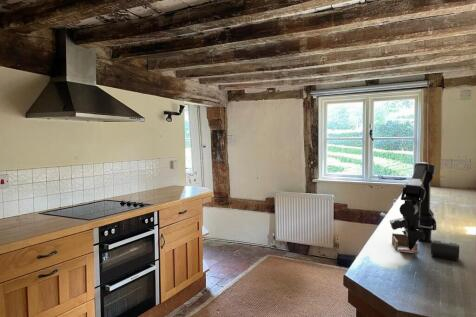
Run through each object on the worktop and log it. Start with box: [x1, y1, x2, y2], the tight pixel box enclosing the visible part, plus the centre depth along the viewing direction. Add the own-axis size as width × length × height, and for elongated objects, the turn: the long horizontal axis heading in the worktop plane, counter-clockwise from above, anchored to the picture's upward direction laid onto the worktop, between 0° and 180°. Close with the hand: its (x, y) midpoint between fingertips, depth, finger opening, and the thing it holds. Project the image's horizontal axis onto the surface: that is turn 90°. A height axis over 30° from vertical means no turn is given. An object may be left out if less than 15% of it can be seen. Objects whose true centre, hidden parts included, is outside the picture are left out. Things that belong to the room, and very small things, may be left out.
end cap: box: [430, 240, 460, 261], centre depth 141 cm, size 10×7×7 cm
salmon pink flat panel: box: [398, 248, 420, 254], centre depth 144 cm, size 1×7×9 cm
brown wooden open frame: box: [391, 232, 419, 254], centre depth 153 cm, size 11×9×5 cm
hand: (410, 249), depth 141 cm, fingers closed
